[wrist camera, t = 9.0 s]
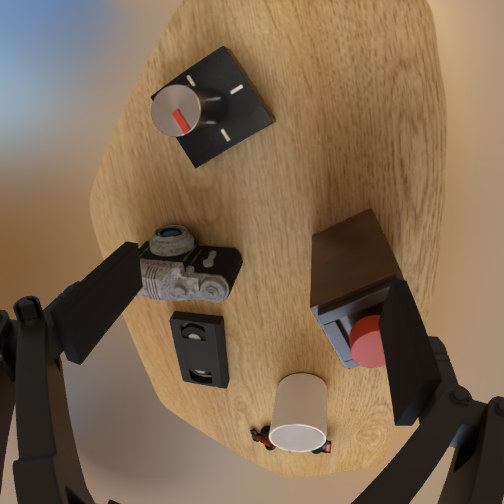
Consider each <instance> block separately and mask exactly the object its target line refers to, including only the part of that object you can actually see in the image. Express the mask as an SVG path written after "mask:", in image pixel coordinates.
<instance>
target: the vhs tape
mask: <svg viewBox="0 0 504 504" xmlns="http://www.w3.org/2000/svg"><path fill="white" fill-rule="evenodd" d="M170 325H171V330H172V335H173V339H174V344H175V348H176V353H177V357H178V361H179V366H180V370H181V374H182V378H183V381H185V382H190V383H196V384H202V385H208V386H214V387H215V386H217V387H219V388H226V389H227V386H228V383H229V372H228V362H227V353H226V342H225V331H224V320H223V317H222V316H212V315H203V314H194V313H186V312H185V313H184V312H178V311H175V312H174V313H173V315H172V317H171V318H170Z"/></svg>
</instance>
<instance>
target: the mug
mask: <svg viewBox="0 0 504 504" xmlns="http://www.w3.org/2000/svg"><path fill="white" fill-rule="evenodd" d="M327 399H328V391H327V386H326V384H325V383H324V381H323V380H322V379H320V378H319V377H317V376H315V375H312V374H306V373H298V374H292V375H289V376H287V377H285V378H284V379H283V380H282V381H281V382H280V383H279V385H278V387H277V391H276V397H275V403H274V409H273V415H272V421H271V426H270V432H269V440H270V441H271V443H272V444H273V445H275V446H276V447H278V448H280V449H283V450H286V451H291V452H307V451H312V450H315V449H318V448H320V447H321V446H322V445H323V444H324V443H325V442H326V434H327Z"/></svg>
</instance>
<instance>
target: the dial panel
mask: <svg viewBox="0 0 504 504" xmlns="http://www.w3.org/2000/svg"><path fill="white" fill-rule="evenodd" d="M177 84H178V85H190V86H201V87H210V88H215V89H218V90H219V91H221V92H222V93H223V94H224V95H225V97H226V99H227V101H228V112H227V115H226V117H225V119H224V120H223V121H222V122H221V123H220V124H218V125H216V126H213V127H210V128H206V129H203V130H199V131H196V132H193V133H189V134H186V135H183V136H178V137H176V138H177V140H178V142H179V143H180V145H181V146H182V148H183V149H184V151H185V153H186V154H187V156H188V157H189V159H190V161H191V162H192V164H193V165H194V167H195V168H197V167H199V166H201V165H202V164H204V163H206V162H207V161H209V160H210V159H212V158H214V157H215V156H217V155H219V154H220V153H222V152H223V151H225V150H227V149H228V148H230V147H232V146H233V145H235V144H237V143H239V142H240V141H242V140H244V139H245V138H247V137H249V136H251V135H252V134H254V133H256V132H258V131H259V130H261V129H263V128H265V127H267V126H268V125H270V124H272V123H274V122H276V120H275V118H274V117H273V115H272V114H271V112H270V110H269V109H268V107H267V105H266V104H265V102H264V101H263V99H262V97H261V96H260V94H259V93H258V91H257V89H256V88H255V86H254V85H253V83H252V82H251V80H250V78H249V77H248V75H247V74H246V72H245V71H244V69H243V68H242V66H241V65H240V63H239V62H238V60H237V59H236V57H235V56H234V54H233V53H232V51H231V50H230V49H228V48H227V47H225V46H222V47H221V48H219V49H218V50H216V51H214V52H213V53H211V54H210V55H208V56H207V57H205V58H204V59H202V60H201V61H199V62H198V63H196V64H195V65H193V66H192V67H190V68H189V69H187V70H186V71H185V72H183V73H182V74H180V75H179V76H178V77H176V78H175V79H173V80H172V81H171V82H169V83H168V84H167V85H165V86H164V87H163V88H161V89H160V90H159V91H157V92H156V93H155V94H154V95H152V96H151V99H152V100H153V101H154V99H155V97H156V95H157V94H158V93H159V92H160V91H161V90H162V89H164V88H165V87H167V86H170V85H177Z"/></svg>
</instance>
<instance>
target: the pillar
mask: <svg viewBox="0 0 504 504" xmlns="http://www.w3.org/2000/svg"><path fill="white" fill-rule="evenodd" d="M392 279H398V280H404V278H403V275H402V272H401V270H400V267H399V265H398V263H397V261H396V258H395V256H394V254H393V252H392V250H391V248H390V246H389V243H388V241H387V239H386V237H385V235H384V233H383V231H382V229H381V227H380V225H379V223H378V221H377V219H376V217H375V215H374V213H373V211H372V209H371V208H370V209H368V210H366V211H364V212H362V213H360V214H357V215H355V216H353V217H351V218H349V219H347V220H344V221H342V222H340V223H338V224H336V225H334V226H332V227H329V228H327V229H325V230H323V231H321V232H319V233H316V234H314V235H312V261H311V292H310V309H311V310H312V312H313V314H314V316H315V317H316V319H317V321H318V322H319V324H320V326H321V328H322V329H323V331H324V333H325V335H326V336H327V338H328V340H329V341H330V343H331V345H332V347H333V348H334V350H335V352H336V354H337V355H338V357H339V359H340V360H341V362H342V364H343V366H344V367H345V368H348V369H351V368H354V367H357V366H360V365H358V364H357V363H355V362H354V360H353V359H352V357H351V351H350V340H349V334H350V330H351V328H352V327H353V325H354V324H355V323H356V322H358V321H359V320H360V319H362V318H364V317H367V316H371V315H381V313H382V310H383V307H384V304H385V301H386V297H387V294H388V291H389V288H390V285H391V281H392Z"/></svg>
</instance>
